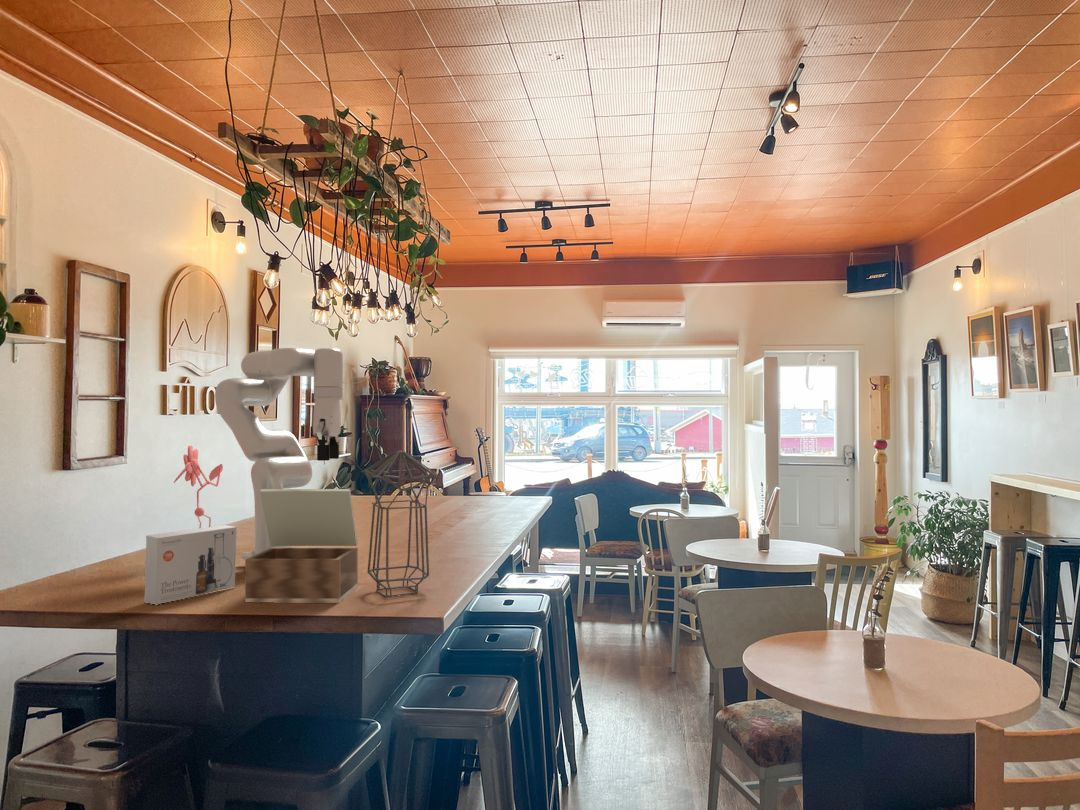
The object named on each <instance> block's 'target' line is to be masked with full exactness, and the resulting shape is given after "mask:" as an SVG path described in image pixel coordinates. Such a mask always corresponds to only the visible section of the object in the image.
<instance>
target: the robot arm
mask: <svg viewBox="0 0 1080 810" xmlns="http://www.w3.org/2000/svg"><path fill="white" fill-rule="evenodd" d="M343 359H344V357H343V351H342V350H340V349H339V348H334V347H332V348H331V347H322V348H321V347H319V348H317V349H311V348H300V347H280V348H273V349H271V350H259V351H253V352H252V351H251V352H249V353H248V354H246V355H245V356H244V357H243V358H242V360H241V363H240V367H241V371H242V373H243V374H244V375H245V376H246V377H247V378H246V377H233V378H226V379H223V380H221V381H220V382H219V383H218V384H217V386H216V388H215V390H214V401H215V406H216V409H217V411H218V413H219V416H220V417H221V418H222V420H223V422H224V423H226V425H227V426H228V427H229V429H230V430H231V431H232V434H233V435H234V438H235V439H236V441H237V443H238V445H239V447H240V449H241V451H242V453H243V454H244V456H245V457H246V459H248V460H249V461H250V462H254V463H253V465H252V467H251V469H250V478H251V483H252V484H251V485H252V488H253V497H254V550H253V551H251V552H250V551H245V552H244V551H242V552H241V554H240V555H241V556H240V557H241V559H242V560H246V559H248V558H250V557H252V556H255V555H257V554H259V553H261V552H263V551H265V550H268V549H270V548H290V546H270V541H269V536H268V531H267V526H266V521H265V515H264V510H263V505H262V500H261V495H260V490H261V489H296V488H297V489H298V488H302V487H305V486H307V485H308V484H310V482H311V481H312V479H313V478H312V477H313V468H312V465H311V462H310V460H309V458H308V457H307V455H306V453H305V451H304V449H303V448H302V446H301V444H300V442H299V440H298V439H297V438H296V436H295V435H294V434H293V433H292V432H290V431H288V430H285V429H269V428H266V427H265V426H264V425H263V423H262V420H261V419H260V417H258V415H257V414H256V413H254V412H253V411H251V410H250V409H249V408H247V407H266V406H270V405H271V404H273V403H274V402H275V401H276V400H277V398H278V397H279V395H280V393H281V392H282V391H283V389H284V388H285V386H286V385H287V383H288V381H289V379H290V377H294V376H295V377H297V376H298V377H311V378H312V377H313V400H315V401H314V407H313V419H312V421H313V423H312V434H313V436H314V437H316V439H317V440H316V460H317V461H318V462H319V461H320V462H322V461H330V459H333V460H335V459H336V460H337V459H339V458H340V439H339V438H340V434H341V430H342V429H341V428H342V427H341V425H342V422H341V419H342V418H341V417H342V416H341V402H340V400H343V399H344V397H343V396H344V394H343V393H344V392H343V390H344V388H343V386H344V385H343V380H344V378H343V377H344V376H343V375H344V374H343V373H344V372H343V370H344V369H343V367H344V366H343V365H344V364H343V363H344V360H343Z"/></svg>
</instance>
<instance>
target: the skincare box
mask: <svg viewBox="0 0 1080 810" xmlns="http://www.w3.org/2000/svg"><path fill="white" fill-rule="evenodd" d="M237 531H238V530H237V526H234V525H233V526H232V525H227V524H223V525H215V526H210V527H209V526H207V527H201V528H199V527H198V528H192V529H185V530H179V531H171V532H163V533H162V532H161V533H155V534H148V535H145V540H146V541H145V542H146V544H145V545H146V546H145V566H144V567H145V568H144V598H143V602H147V603H146V604H148V603H152V604H160V603H165V602H169V603H171V602H170V601H174V602H176V601H175V600H179V599H183V598H187V597H192V596H196V595H201V594H205V593H209V592H213V591H218V590H222V589H227V588H231V587H234V586H235V587H236V563H237V562H236V555H237ZM183 600H184V599H183ZM179 601H180V600H179ZM152 604H151V605H152ZM165 604H166V603H165ZM160 605H161V604H160Z"/></svg>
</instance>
